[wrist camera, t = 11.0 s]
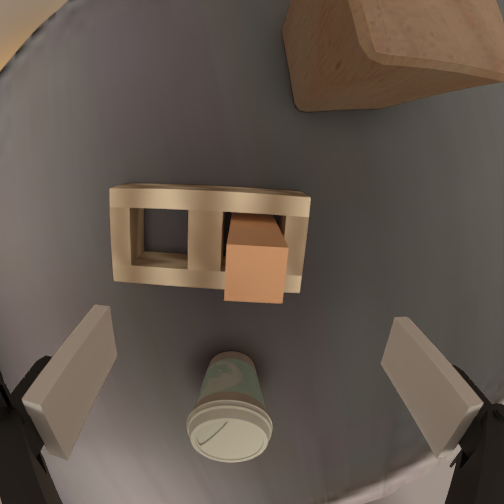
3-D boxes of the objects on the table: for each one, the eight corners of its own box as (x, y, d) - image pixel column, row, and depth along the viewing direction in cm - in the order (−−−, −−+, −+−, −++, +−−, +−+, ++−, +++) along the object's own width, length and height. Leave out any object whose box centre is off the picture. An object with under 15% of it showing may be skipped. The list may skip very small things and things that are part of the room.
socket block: (128, 265, 33) (113, 281, 29) (126, 183, 31) (109, 188, 26) (292, 275, 34) (299, 292, 30) (301, 191, 31) (310, 197, 27)
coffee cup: (250, 332, 36) (254, 404, 25) (275, 382, 39) (285, 454, 27) (185, 353, 37) (167, 424, 25) (215, 400, 39) (209, 470, 28)
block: (294, 114, 29) (372, 58, 10) (278, 26, 26) (319, -100, 7) (385, 109, 29) (525, 83, 10) (368, 26, 26) (473, -60, 7)
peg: (230, 249, 33) (224, 300, 22) (232, 211, 32) (226, 244, 20) (268, 251, 33) (282, 303, 22) (272, 213, 32) (288, 247, 21)
